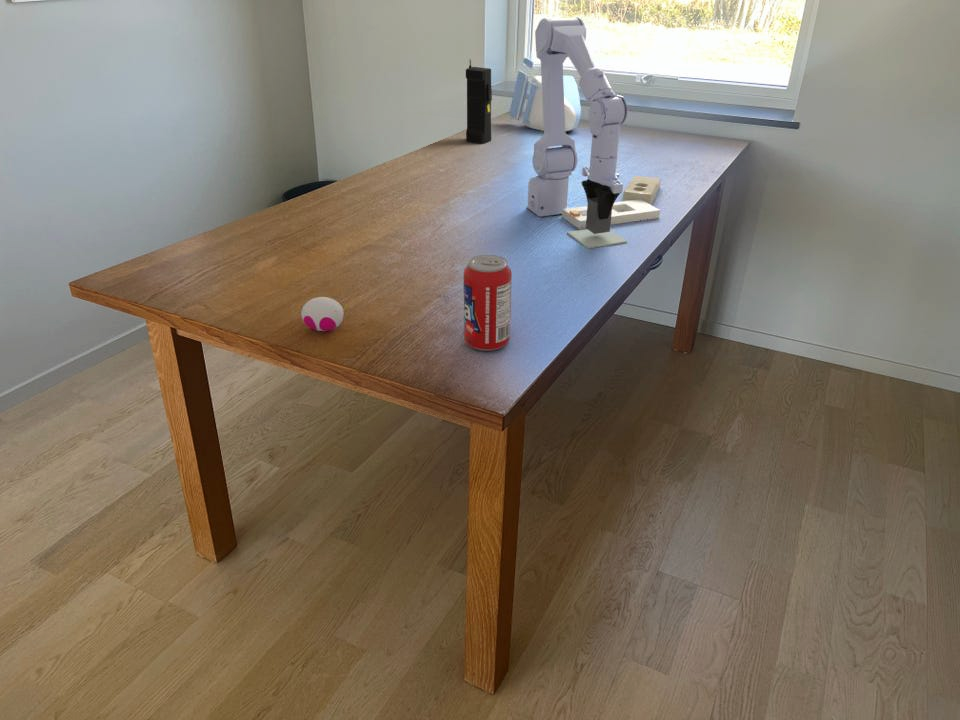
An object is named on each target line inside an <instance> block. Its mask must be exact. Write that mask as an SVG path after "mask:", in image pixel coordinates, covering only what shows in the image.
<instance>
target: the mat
mask: <svg viewBox="0 0 960 720" xmlns="http://www.w3.org/2000/svg"><path fill="white" fill-rule="evenodd" d="M566 233H567V235H568V236H570V237H572V238H573V240H575V241H576V242H578V243H580V245H583V246H584V247H585V248H586V249H587V250H589V249H594V248H601V247H607V246H613V245H620V244H626V243H628V240H627V239H625V238H623V237H622V236H620V235H618V234H617V233H616V232H614V231H613V230H611V229H610V232H605V233H598V234H594V233H592V232H591V231H589V230H588V229H586V228H584V229H578V230H571V231H570V230H569V231H566Z"/></svg>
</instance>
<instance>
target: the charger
mask: <svg viewBox="0 0 960 720" xmlns="http://www.w3.org/2000/svg"><path fill="white" fill-rule="evenodd" d="M586 206H587V218H586V228H585V229H588V230H589V231H591V232H592V233H594V234H598V233H605V232H610V230H611V226H612V225H611V215H612V209H611V212H610V215H609V217H608V219H599V215H598V199H597V197H596V198H588V202H587V205H586Z"/></svg>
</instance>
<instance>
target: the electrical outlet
mask: <svg viewBox="0 0 960 720" xmlns="http://www.w3.org/2000/svg"><path fill="white" fill-rule="evenodd" d="M661 179H662V178H660V177H652V176H642V175H634V176H633V177H632V179H631V180H630V181H629V182H628V184H627V186H626V187H625V189H623V191H622V198H621V199H622V201H629V200H637V199H638V200H643V201H645V202H647V203H648V204H650V205H652V206H653V203H654V201H655V199H656V197H657V194H658V193H659V190H660V189H661Z"/></svg>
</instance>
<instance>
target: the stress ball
mask: <svg viewBox="0 0 960 720" xmlns="http://www.w3.org/2000/svg"><path fill="white" fill-rule="evenodd" d="M300 310H301V313H300V314H301V315H300V316H301V319H302V322H303V323H304V325H306V326H307V327H308V328H309V329H312V330H313V331H319V332H320V331H322V332H328V331H332V330H335V329H336V328H338V327H339V326H340V325H341V324H342V322H343V321H344V317H345V312H344V311H345V310H344V308H343V306H342V305H341V304H340V303H339V302H338V300H335V299H333V298H330V297H327V296H318V297H314V298H311V299H310V300H308V301H307V302H306V303H305V304H303V306H302V308H301V309H300Z"/></svg>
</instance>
